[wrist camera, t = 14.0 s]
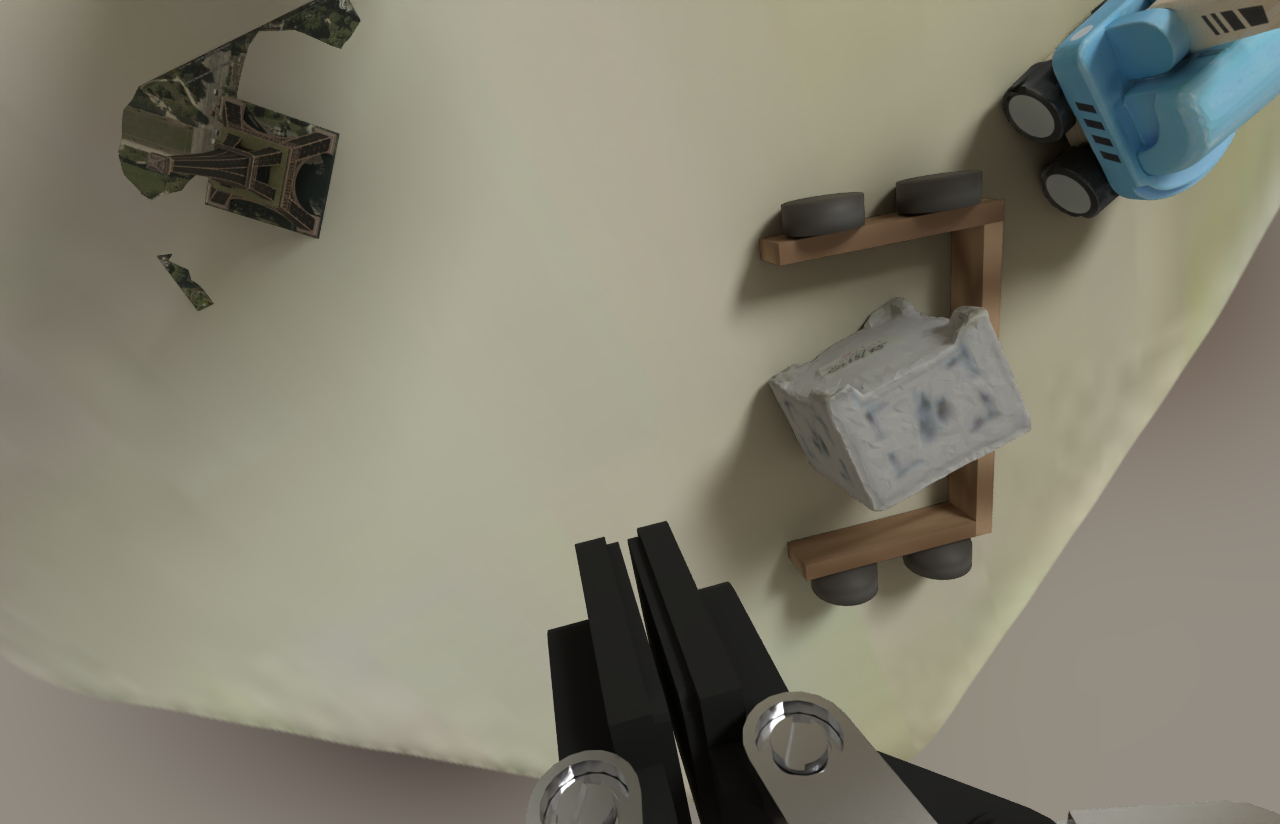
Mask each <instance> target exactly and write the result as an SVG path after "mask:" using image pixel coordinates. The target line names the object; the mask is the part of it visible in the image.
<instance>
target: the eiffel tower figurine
mask: <svg viewBox="0 0 1280 824" xmlns="http://www.w3.org/2000/svg"><path fill="white" fill-rule="evenodd" d="M360 21H361V20H360V19H359V17H358V15H357V13H356V12H355V10H354V8H353V6H352V5H351V3H350V1H349V0H314V1H312V2H310V3H308V4H306V5H304V6H301V7H299V8H297V9H295V10H293V11H291V12H289V13H287V14H285V15H283V16H281V17H279V18H277V19H275V20H273V21H271V22H269V23H267V24H265V25H263V26H261V27H259V28H257V29H255V30H252V31H250V32H248V33H246V34H244V35H242V36H240V37H238V38H236V39H234V40H232V41H230V42H228V43H226V44H224V45H222V46H220V47H218V48H216V49H214V50H212V51H210V52H208V53H206V54H204V55H202V56H200V57H198V58H196V59H194V60H192V61H190V62H188V63H186V64H184V65H182V66H180V67H178V68H176V69H174V70H171V71H169V72H167V73H165V74H163V75H161V76H159V77H157V78H155V79H153V80H151V81H149V82H147V83H145V84H143V85H141V86H139V87H138V89H137V91H136V93H135V95H134V97H133V99H132V101H131V102H130V103H129V104H128V105H127V107H126V108H125V109H124V111H123V118H122V139H121V143H120V148H119V153H120V154H119V158H120V162H121V166H122V170H123V173H124V175H125V176H126V177H127V178H128V179H129V180H130V181H131V182H132V183H133V184H134V185H135V186H136V187H137V188H138V189H139V190H140V191H141V194H142V195H144V196H146V197H147V198H149V199H151V200H152V199H155V198H157V197H159V196H161V195H163V194H168V193H172V192H177V191H181V190H182V189H183V188H184V186H185V185H186V184H187V183H188V182H189V180H191V179H192V178H193V177H194V176H195V175H199V176H206V177H209V180H208V187H207V194H206V200H205V204H207V205H210V206H213V207H216V208H220V209H223V210H226V211H230V212H233V213H236V214H239V215H243V216H246V217H249V218H252V219H256V220H259V221H262V222H265V223H269V224H272V225H275V226H278V227H282V228H285V229H288V230H292V231H295V232H298V233H301V234H305V235H308V236H311V237H314V238H318V239H319V235H320V230H321V225H322V220H323V215H324V210H325V205H326V200H327V194H328V189H329V184H330V179H331V174H332V169H333V164H334V159H335V154H336V149H337V144H338V139H339V134H338V133H335V132H333V131H330V130H327V129H324V128H321V127H318V126H315V125H312V124H309V123H306V122H303V121H300V120H297V119H295V118H292V117H289V116H286V115H283V114H280V113H277V112H274V111H271V110H268V109H265V108H262V107H259V106H257V105H254V104H251V103H248V102H245V101H242V100H239V99H237V90H238V85H239V80H240V76H241V72H242V67H243V63H244V60H245V57H246V53H247V50H248V46H249V45H250V43H251V42H252V40H253V39H254V37H255V36H256V34H257V33H258V32H259V31H281V30H296V31H299V32H302V33H305V34H307V35H309V36H311V37H314V38H316V39H318V40H320V41H323V42H325V43H327V44H329V45H331V46H334V47H337V48H340V49H341V48H342V46H343V44H344V43H345V42H346V41H347V40H348V39H349V38H350V37H351V35H352V33H353V32H354V30H355V29H356V27H357V26H358V24H359V22H360ZM171 255H172V254H167V255H159V256H157V257H158V259H159V260H160V261H161V263H162V264H163V265H164V267H165V268H166V269H167V271H168V272H169V273H170V274H171V276H172V277H173V278H174V280H175V281H176V282H177V284H178V285H179V286H180V288H181V289H182V290H183V292H184V293H185V294H186V296H187V297H188V298H189V299H190V301H191V302H192V303H193V305H194V306H195V307H196V309H197V310H198V311H199V310H201V309H203V308H205V307H208V306H210V305H212V304H214V303H213V302H212V301H211V299H210V298H209V297H208V295H207V294H206V293H205V291H204V290H203V289H202V288H201V287H200V286H199V285H198V284H196V283H195V282H194V281H192V280H191V277H190V274H189V271H188V270H187V269H185V268H183V267H181V266H178V265H176V264H174V263H171V262H169V259H170V257H171Z"/></svg>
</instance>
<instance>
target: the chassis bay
mask: <svg viewBox="0 0 1280 824" xmlns="http://www.w3.org/2000/svg"><path fill="white" fill-rule="evenodd" d="M981 189H982V171H958V172H948V173H940V174H933V175H926V176H920V177H915V178H910V179H905V180H901V181H898V182H896V209H897V212H895V213H890V214H885V215H880V216H875V217H870V218H865V212H864V193H862V192H848V193H837V194H828V195H821V196H815V197H809V198H803V199H798V200H794V201H790V202H786V203H784V204H782V205H781V212H782V224H783V234H782V235H777V236H772V237H767V238H762V239H759V244H760V255H761V260H764V261H767V262H770V263H773V264H776V265H780V266H782V265H787V264H792V263H797V262H802V261H807V260H812V259H817V258H822V257H827V256H832V255H837V254H841V253H846V252H851V251H856V250H861V249H866V248H871V247H876V246H881V245H886V244H891V243H896V242H901V241H906V240H911V239H916V238H921V237H926V236H931V235H936V234H941V233H946V232H951V231H952V237H951V315H952V313H953V311H954V310H955V309H957V308H958V307H962V306H974V307H983V308H985V309H986V310H987V311H988V314H989V320H990V322H991V325H992V327H993V329H994V331H995V333H996V336H997V338H998V341H999V324H1000V298H1001V272H1002V246H1003V220H1004V199H982V198H981ZM994 455H995V450H994V451H992V452H990V453H988V454H986V455H984V456H983V457H981V458H979V459H977V460H974V461H972V462H970V463H968V464H966V465H964V466H963V467H961V468H959V469H957V470H955V471H953V472H952V473H950V474H949V502H945V503H941V504H937V505H933V506H929V507H925V508H921V509H917V510H913V511H909V512H905V513H901V514H898V515H894V516H890V517H886V518H882V519H878V520H874V521H870V522H866V523H862V524H858V525H854V526H850V527H846V528H843V529H839V530H835V531H831V532H827V533H823V534H819V535H815V536H811V537H807V538H803V539H799V540H795V541H791V542H787V543H788V553H789V558H790V559H791V560H792V562H793V563H794V564H795V566H796V567H797V568H798V570H799V571H800V572H801V574H802V575H803V577H804V578H805V579H806V581H808V580H811V584H812V589H813V591H814V593H815V594H816V595H817V596H818V597H819V598H820V599H822V600H824V601H826V602H828V603H831V604H835V605H841V606H853V605H859V604H862V603H865V602H867V601H869V600H871V599H872V598H873V597H874V596H875V595H876V593H877V591H878V571H877V562H881V561H884V560H888V559H892V558H896V557H900V556H903V561H904V564H905V565H906V566H907V568H908V569H910V570H911V571H912V572H914V573H916V574H918V575H920V576H923V577H926V578H930V579H937V580H949V579H955V578H959V577H961V576H964V575H965V574H967V573H968V572H969V571H970V569H971V566H972V541H971V539H970V538H972V537H976V536H980V535H983V534H987V533H991V532H992V508H993V481H994Z"/></svg>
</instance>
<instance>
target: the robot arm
mask: <svg viewBox="0 0 1280 824" xmlns="http://www.w3.org/2000/svg"><path fill="white" fill-rule="evenodd" d="M637 534H638V537H634V538H631V539H628V546H629V551H630V555H631V560H632V565H633V570H634V574H635V579H636V584H637V589H638V593H639V598H640V603H641V608H642V612H643V617H644V622H645V627H646V631H647V636H648V639H647V636H646V633H645V629H644V626H643V623H642V619H641V616H640V613H639V609H638V606H637V603H636V599H635V596H634V593H633V589H632V586H631V583H630V579H629V576H628V573H627V569H626V566H625V563H624V559H623V556H622V553H621V549H620V546H619V543H618V542H615V543H611V544H606V541H605V537H601V538H598V539H594V540H590V541H586V542H582V543H578V544H575V549H576V554H577V560H578V565H579V570H580V576H581V581H582V586H583V592H584V597H585V603H586V608H587V613H588V620H584V621H580V622H577V623H573V624H569V625H566V626H562V627H558V628H554V629H551V630H548V633H547V635H548V648H549V658H550V669H551V680H552V690H553V701H554V712H555V722H556V733H557V743H558V754H559V762H558V763H556V764H554V765H553V766H552V767H551V768H550V769H549V770H548V771H547V772H546V773H545V774H544V775H543V776H542V777H541V779H540V780H539V782H538V784H537V785H536V787H535V789H534V790H533V792H532V795H531V798H530V802H529V806H528V809H527V818H526V824H692V822H691V817H690V812H689V807H688V802H687V797H686V792H685V788H684V783H683V778H682V773H681V768H680V763H679V758H678V754H677V749H676V744H675V739H676V742H677V746H678V749H679V752H680V756H681V759H682V762H683V766H684V769H685V773H686V776H687V779H688V783H689V786H690V789H691V793H692V796H693V800H694V803H695V806H696V810H697V813H698V816H699V820H700V823H701V824H1280V814H1278V813H1276V812H1273V811H1270V810H1268V809H1265V808H1262V807H1259V806H1256V805H1253V804H1250V803H1244V802H1233V801H1212V802H1211V801H1210V802H1195V803H1179V804H1164V805H1149V806H1132V807H1118V808H1101V809H1087V810H1070V811H1069V813H1068V820H1056V821H1053V820H1051V819H1050V818H1048V817H1046V816H1044V815H1042V814H1040V813H1038V812H1036V811H1034V810H1032V809H1030V808H1028V807H1025V806H1022V805H1020V804H1017V803H1015V802H1012V801H1009V800H1007V799H1004V798H1001V797H998V796H996V795H993V794H990V793H988V792H985V791H983V790H980V789H977V788H974V787H972V786H969V785H967V784H964V783H961V782H958V781H956V780H953V779H951V778H948V777H946V776H942V775H940V774H937V773H935V772H932V771H930V770H927V769H924V768H922V767H919V766H916V765H914V764H911V763H908V762H906V761H903V760H900V759H898V758H895V757H892V756H890V755H887V754H884V753H882V752H879V751H876V750H875V748H874V747H873V746H872V745H871V744H870V742H869V741H868V740H867V739H866V738H865V736H864V735H863V734H862V733H861V732H860V730H859V729H858V728H857V727H856V726H855V725H854V723H853V722H852V721H851V720H850V719H849V717H848V716H847V715H846V714H845V713H844V712H843V711H842V710H841V709H840V708H838V707H837V706H836V705H835V704H834V703H833V702H831V701H829V700H827V699H825V698H823V697H821V696H819V695H815V694H810V693H806V692H789V691H788V689H787V687H786V685H785V684H784V682H783V680H782V678H781V676H780V674H779V672H778V670H777V669H776V667H775V665H774V663H773V661H772V659H771V657H770V655H769V654H768V652H767V650H766V648H765V646H764V644H763V642H762V640H761V639H760V637H759V635H758V633H757V631H756V629H755V627H754V626H753V624H752V622H751V620H750V618H749V616H748V614H747V612H746V611H745V609H744V607H743V605H742V603H741V601H740V599H739V597H738V596H737V594H736V592H735V590H734V588H733V587H732V585H731V584H730V583H729V582H725V583H721V584H717V585H713V586H710V587H706V588H702V589H699V590H698V589H697V587H696V584H695V582H694V580H693V578H692V575H691V573H690V571H689V569H688V567H687V564H686V562H685V560H684V558H683V555H682V553H681V551H680V549H679V547H678V544H677V542H676V540H675V538H674V535H673V533H672V531H671V529H670V527H669V524H668V523H667V521H664V522H660V523H656V524H652V525H648V526H644V527H640V528H637ZM648 641H649V643H648ZM673 732H674V734H673ZM674 736H675V739H674Z"/></svg>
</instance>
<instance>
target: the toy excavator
mask: <svg viewBox="0 0 1280 824" xmlns="http://www.w3.org/2000/svg"><path fill="white" fill-rule="evenodd" d="M1279 93H1280V0H1104V1H1103V2H1102V3H1101V4H1100V5H1098V6H1097V7H1096V8H1095V9H1094V10H1093V11H1092V13H1091V16H1090V17H1089V18H1088V19H1087V20H1086V21H1085V22H1083V23H1082V24H1081V25H1080V26H1079V27H1078V28H1077V29H1076V30H1075V31H1074V32H1072V33H1071V34H1070V35H1069V36H1068V37H1067V38H1066V39H1065V40H1064V41H1063V42H1062V43H1061V44H1060V45H1059V46H1058V47H1057V48H1056V50H1055V51H1054V52H1053V53H1052V54H1051V55H1050V56H1049V57H1048V58H1047V59H1046V60H1045V61H1044V62H1039V63H1036V64H1034V65H1033V66H1032V67H1030V68H1029V70H1027V71H1026V72H1025V73H1024V74H1023V75H1022V76H1021V77H1020V78H1019V79H1018V80H1017V81H1016V82H1015V83H1014V84H1013V85H1012V86H1011V87H1010V88H1009V89H1008V90H1007V92H1006V93H1005V95H1004V98H1003V109H1004V111H1005V114H1006V116H1007V118H1008V119H1009V122H1011V124H1012V125H1014V126H1015V128H1016V130H1017V131H1018V132H1021V134H1023V135H1025V136H1026V137H1027V138H1029V139H1030V140H1032V141H1036V142H1041V143H1049V142H1055V141H1058V140H1059V139H1061V138H1062V136H1063V135H1066V137H1067V139H1068V141H1069V143H1070V145H1071V147H1069V148H1067V149H1066V150H1065V151H1064V152H1063V153H1062V154H1061V155H1060V156H1058V157H1057V158H1056V159H1055V160H1054V161H1053V162H1052V163H1051V164H1049V165H1048V166H1047V167H1046V168H1045V169H1044V170H1043V172H1042V174H1041V179H1043V181H1044V186H1043V193H1044V195H1045V196H1046V198H1048V199H1049V200H1050V202H1051V203H1052V204H1053V205H1054V206H1055V207H1057V208H1058V209H1059V210H1060V211H1062V212H1064V213H1066V214H1068V215H1070V216H1074V217H1079V216H1083V217H1086V218H1091V217H1094V216H1096V215H1097V214H1098V213H1099V212H1100V211H1102V210H1103V209H1104V208H1105V207H1106V206H1107V205H1108V204H1110V203H1111V202H1112V201H1113V200H1114V199H1115V198H1116V197H1118V196H1119V195H1120V196H1122V197H1125V198H1129V199H1139V200H1158V199H1163V198H1167V197H1170V196H1173V195H1176V194H1178V193H1180V192H1182V191H1184V190H1186V189H1188V188H1190V187H1191V186H1192V185H1194V184H1195V183H1197V182H1198V181H1199V180H1200V179H1201V178H1203V177H1204V176H1205V175H1206V174H1207V173H1208V172H1209V171H1210V170H1211V169H1212V168H1213V167H1214V166H1215V164H1216V163H1217V162H1218V161H1219V159H1220V158H1221V157H1222V155H1223V154H1224V152H1225V151H1226V149H1227V147H1228V146H1229V144H1230V143H1231V141H1232V139H1233V137H1234V135H1235V133H1236V130H1237V129H1238V128H1240V127H1241V126H1242V125H1243V124H1244V123H1245V122H1247V121H1248V120H1249V119H1250V118H1251V117H1252V116H1254V115H1255V114H1256V113H1257V112H1258V111H1260V110H1261V109H1262V108H1263V107H1264V106H1266V105H1267V104H1268V103H1269V102H1270V101H1271V100H1273V99H1274V98H1275V97H1276V96H1277V95H1278V94H1279Z"/></svg>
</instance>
